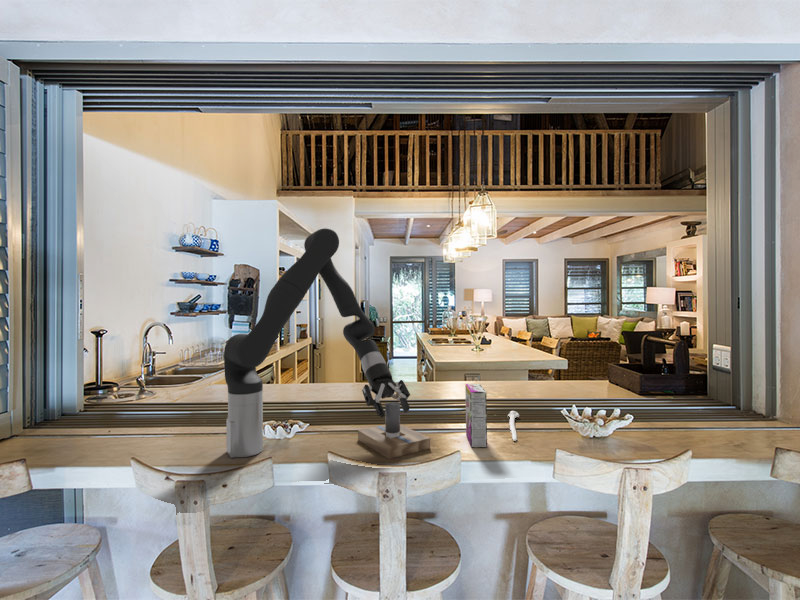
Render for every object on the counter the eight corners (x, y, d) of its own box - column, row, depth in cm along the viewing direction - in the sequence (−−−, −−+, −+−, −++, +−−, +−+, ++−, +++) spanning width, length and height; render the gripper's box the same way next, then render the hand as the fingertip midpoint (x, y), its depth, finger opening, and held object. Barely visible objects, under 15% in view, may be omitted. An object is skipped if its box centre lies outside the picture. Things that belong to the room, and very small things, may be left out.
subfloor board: (388, 458, 111) (388, 447, 111) (358, 440, 126) (358, 429, 126) (430, 448, 118) (430, 437, 118) (396, 431, 134) (396, 422, 134)
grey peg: (390, 447, 119) (390, 406, 119) (382, 443, 123) (382, 403, 123) (402, 444, 122) (402, 404, 122) (395, 440, 125) (394, 401, 125)
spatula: (525, 444, 123) (525, 434, 123) (511, 443, 124) (511, 434, 124) (519, 417, 150) (518, 410, 150) (507, 417, 151) (507, 409, 151)
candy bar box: (464, 435, 130) (464, 383, 130) (480, 435, 130) (480, 383, 130) (470, 448, 119) (470, 391, 119) (487, 448, 118) (487, 391, 118)
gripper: (359, 364, 125) (378, 410, 115) (399, 360, 132) (420, 403, 123) (351, 378, 129) (369, 424, 119) (390, 374, 137) (410, 416, 127)
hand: (395, 413), depth 121 cm, fingers open, 8 cm apart
